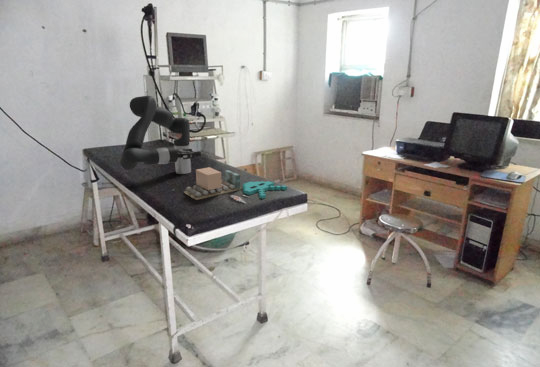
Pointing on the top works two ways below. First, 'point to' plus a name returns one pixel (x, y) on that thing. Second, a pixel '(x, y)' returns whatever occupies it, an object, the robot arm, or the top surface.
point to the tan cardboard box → (208, 178)
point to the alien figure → (260, 188)
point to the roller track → (227, 186)
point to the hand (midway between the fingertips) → (196, 152)
